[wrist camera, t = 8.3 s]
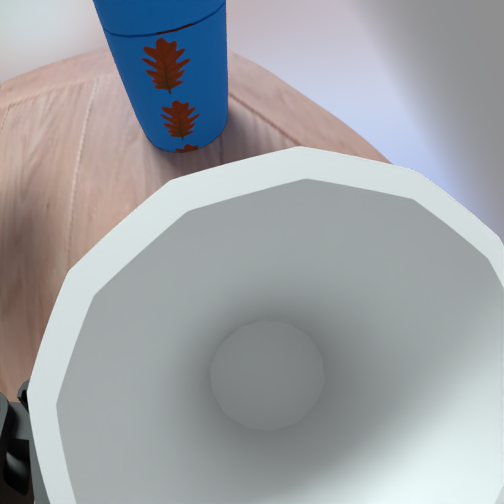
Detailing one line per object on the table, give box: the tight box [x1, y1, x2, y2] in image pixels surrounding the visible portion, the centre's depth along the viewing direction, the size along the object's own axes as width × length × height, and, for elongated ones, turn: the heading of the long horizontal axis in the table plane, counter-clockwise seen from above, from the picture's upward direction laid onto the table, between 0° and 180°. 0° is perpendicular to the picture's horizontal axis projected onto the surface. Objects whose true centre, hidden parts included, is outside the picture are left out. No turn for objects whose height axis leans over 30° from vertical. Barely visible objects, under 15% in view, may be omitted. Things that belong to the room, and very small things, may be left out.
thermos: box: [93, 0, 228, 153], centre depth 24 cm, size 11×11×25 cm
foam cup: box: [27, 146, 504, 504], centre depth 10 cm, size 10×9×13 cm
